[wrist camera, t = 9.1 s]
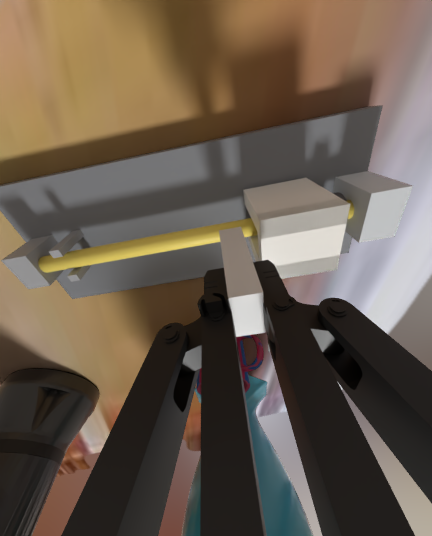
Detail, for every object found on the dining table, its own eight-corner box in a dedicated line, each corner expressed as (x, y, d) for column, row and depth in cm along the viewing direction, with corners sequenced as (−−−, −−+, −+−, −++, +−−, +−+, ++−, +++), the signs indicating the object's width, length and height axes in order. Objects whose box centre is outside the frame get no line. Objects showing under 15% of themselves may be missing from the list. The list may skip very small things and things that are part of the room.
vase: (277, 365, 36) (425, 868, 12) (272, 406, 46) (347, 724, 22) (179, 375, 37) (131, 877, 12) (195, 413, 47) (186, 733, 23)
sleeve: (248, 239, 20) (263, 281, 14) (243, 189, 17) (259, 220, 12) (302, 230, 19) (336, 269, 14) (306, 177, 16) (350, 203, 11)
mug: (188, 340, 31) (185, 388, 26) (244, 309, 28) (254, 357, 22) (216, 358, 34) (218, 404, 29) (269, 332, 31) (283, 379, 25)
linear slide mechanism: (78, 289, 24) (47, 332, 20) (-1, 185, 17) (-81, 211, 13) (340, 245, 22) (378, 280, 18) (368, 106, 15) (443, 101, 11)
